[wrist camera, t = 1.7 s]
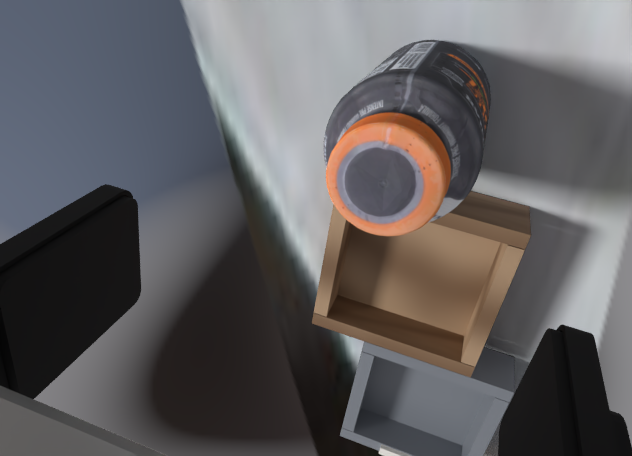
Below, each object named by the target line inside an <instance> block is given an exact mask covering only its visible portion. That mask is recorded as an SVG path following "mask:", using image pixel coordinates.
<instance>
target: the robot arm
mask: <svg viewBox="0 0 632 456" xmlns="http://www.w3.org/2000/svg"><path fill="white" fill-rule="evenodd" d="M138 228H139V227H138V205H137V202H136V200H135V199H133V196H132V194H131V193H130V192H129V191H127V190H124V189H121V188H118V187H114V186H111V185H106V184H105V185H103V186H100V187H99V188H97V189H95V190H94V191H92V192H90V193H88V194H87V195H85V196H83V197H82V198H80V199H78V200H76V201H74V202H73V203H71V204H69V205H68V206H66V207H64V208H62V209H61V210H59V211H57V212H55V213H54V214H52V215H50V216H49V217H47V218H45V219H43V220H42V221H40V222H38V223H36V224H35V225H33V226H31V227H30V228H28V229H26V230H24V231H23V232H21V233H19V234H17V235H16V236H14V237H12V238H10V239H9V240H7V241H5V242H4V243H2V244H0V456H167V455H165V454H162V453H160V452H157V451H155V450H153V449H150V448H148V447H146V446H143V445H141V444H139V443H136V442H134V441H132V440H129V439H127V438H124V437H122V436H120V435H117V434H115V433H113V432H110V431H108V430H105V429H103V428H101V427H98V426H96V425H93V424H91V423H89V422H86V421H84V420H82V419H79V418H77V417H74V416H72V415H69V414H67V413H65V412H62V411H59V410H57V409H55V408H53V407H50V406H48V405H45V404H43V403H40V402H38V401H36V400H33V399H34V398H35V397H36V396H37V395H39V394H40V393H41V392H42V391H43V390H44V389H45V388H46V387H47V386H48V385H49V384H50V383H51V382H52V381H53V380H55V378H57V377H58V376H59V375H60V374H61V373H62V372H63V371H64V370H65V369H66V368H67V367H68V366H69V365H70V364H72V363H73V362H74V361H75V360H76V359H77V358H78V357H79V356H80V355H81V354H82V353H83V352H84V351H85V350H86V349H88V347H90V346H91V345H92V344H93V343H94V342H95V341H96V340H97V339H98V338H99V337H100V336H101V335H102V334H103V333H105V332H106V331H107V330H108V329H109V328H110V327H111V326H112V325H113V324H114V323H115V322H116V321H117V320H118V319H119V318H120V317H122V316H123V315H124V314H125V313H126V312H127V311H128V310H129V309H130V308H131V307H132V306H133V305H134V304H135V303H136V302H137V300H138V298H139V296H140V292H141V278H140V253H139V229H138ZM498 456H632V447H631V443H630V439H629V435H628V430H627V426H626V423H625V420H624V418H623V417H622V416H621V415H620V414H619V413H616V412H612V411H610V410H609V406H608V401H607V396H606V391H605V386H604V382H603V377H602V372H601V367H600V363H599V358H598V353H597V348H596V343H595V339H594V336H593V335H592V334H591V333H588V332H585V331H581V330H578V329H575V328H572V327H568V326H565V325H560V326H559V327H558V329H557V330H553V329H550V328H549V329H547V330H546V332H545V334H544V336H543V338H542V340H541V342H540V344H539V346H538V348H537V350H536V352H535V354H534V356H533V358H532V360H531V362H530V364H529V366H528V368H527V370H526V372H525V374H524V376H523V378H522V380H521V382H520V384H519V386H518V388H517V390H516V392H515V394H514V396H513V398H512V400H511V402H510V404H509V406H508V408H507V410H506V412H505V414H504V416H503V419H502V422H501V425H500V430H499V449H498Z"/></svg>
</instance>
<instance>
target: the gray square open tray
mask: <svg viewBox="0 0 632 456" xmlns="http://www.w3.org/2000/svg"><path fill="white" fill-rule="evenodd" d="M513 394H514V357H512V356H509V355H506V354H503V353H499V352H496V351H493V350H490V349H487V348H484V347H483V350H482V352H481V354H480V357H479V359H478V361H477V364H476V366H475V368H474V371H473V373H472V376H471V378H470V377H467V376H465V375H462V374H459V373H456V372H453V371H450V370H447V369H444V368H441V367H438V366H435V365H432V364H429V363H427V362H424V361H421V360H418V359H415V358H412V357H409V356H406V355H403V354H400V353H397V352H394V351H391V350H388V349H386V348H383V347H380V346H377V345H374V344H371V343H368V342H365V341H364V345H363V348H362V352H361V356H360V360H359V364H358V368H357V372H356V375H355V379H354V383H353V387H352V391H351V395H350V399H349V402H348V406H347V410H346V414H345V418H344V422H343V426H342V429H341V433H340V436H342V437H345V438H347V439H350V440H352V441H355V442H358V443H360V444H363V445H365V446H368V447H371V448H373V449H376V450H378V451H379V454H381V455H384V456H483V455H484V453H485V451H486V449H487V447H488V445H489V443H490V441H491V439H492V437H493V435H494V433H495V431H496V429H497V427H498V425H499V423H500V421H501V419H502V417H503V415H504V413H505V411H506V408H507V406H508V404H509V402H510V400H511V398H512V396H513Z"/></svg>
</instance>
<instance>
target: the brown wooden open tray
mask: <svg viewBox="0 0 632 456" xmlns="http://www.w3.org/2000/svg"><path fill="white" fill-rule="evenodd" d="M530 237H531V226H530V210H529V207H528V206H525V205H521V204H517V203H513V202H510V201H506V200H502V199H498V198H495V197H491V196H487V195H483V194H480V193H476V192H472V191H470V193H469V194H468V195H467V197H466V198H465V199H464V200H463V201H462V202H461V203H460V204H459V205H458V206H457V207H456V208H454V209H453V210H452V211H450V212H449V213H447V214H446V215H444V216H442V217H441V218H439V219H436V220H434V221H431V222H428V223H426V224H425V225H424V226H423V227H421V228H420V229H418V230H416V231H413V232H411V233H407V234H404V235H400V236H379V235H374V234H371V233H368V232H365V231H363V230H361V229H359V228H357V227H356V226H354V225H353V224H351V223H350V222H349V221H347V220H346V219H345V218H344V217H343V216H342V215H341V214H340V212H339V211H338V210H337V208H336V207H335V205H333V210H332V216H331V221H330V227H329V232H328V238H327V243H326V249H325V254H324V260H323V265H322V270H321V276H320V281H319V287H318V292H317V298H316V303H315V309H314V314H313V320H312V324H315V325H318V326H321V327H324V328H327V329H330V330H333V331H336V332H339V333H342V334H345V335H348V336H350V337H353V338H356V339H359V340H362V341H365V342H368V343H371V344H374V345H377V346H380V347H383V348H386V349H388V350H391V351H394V352H397V353H400V354H403V355H406V356H409V357H412V358H415V359H418V360H421V361H424V362H427V363H429V364H432V365H435V366H438V367H441V368H444V369H447V370H450V371H453V372H456V373H459V374H462V375H465V376H467V377H470V378H471V376H472V373H473V371H474V368H475V366H476V364H477V361H478V359H479V357H480V354H481V352H482V350H483V347H484V345H485V343H486V340H487V338H488V336H489V333H490V331H491V328H492V326H493V324H494V321H495V319H496V317H497V314H498V312H499V310H500V307H501V305H502V303H503V300H504V298H505V295H506V293H507V291H508V288H509V286H510V284H511V281H512V279H513V277H514V274H515V272H516V270H517V267H518V265H519V263H520V260H521V258H522V255H523V253H524V251H525V248H526V246H527V244H528V241H529V239H530Z"/></svg>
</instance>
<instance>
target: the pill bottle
mask: <svg viewBox="0 0 632 456" xmlns="http://www.w3.org/2000/svg"><path fill="white" fill-rule="evenodd" d="M489 110H490V86H489V82H488V79H487V77H486V74H485V72H484V70H483V69H482V67H481V66H480V64H479V63H478V62H477V60H476V59H475V58H473V57H472V56H471V55H470V54H469V53H467V52H466V51H465V50H464V49H462V48H460V47H458V46H456V45H454V44H451V43H448V42H444V41H437V40H423V41H419V42H414V43H411V44H408V45H406V46H404V47H402V48H400V49H399V50H397V51H396V52H394V53H393V54H392V55H391V56H390V57H388V58H387V59H386V60H385V61H384V62H383V63H381V64H380V65H379V66H378V67H376V68H375V69H374V70H373V71H372V72H371V73H369V74H368V75H367V76H366V77H365V78H363V79H362V80H361V81H360V82H359V83H358V84H357V85H356V86H354V87H353V88H352V89H351V90H350V91H349V92H348V93H347V94H346V95H345V96H344V97H343V98H342V99H341V100H340V101H339V103H338V104H337V106H336V107H335V109H334V110H333V113H332V115H331V117H330V119H329V122H328V124H327V128H326V132H325V137H324V159H325V164H326V168H327V170H326V182H327V188H328V191H329V195H330V197H331V200H332V202H333V204H334V205H335V207H336V208H337V210H338V211H339V212H340V214H341V215H342V216H343V217H344V218H345V219H346V220H347V221H349V222H350V223H351V224H353V225H354V226H356V227H357V228H359V229H361V230H363V231H365V232H368V233H371V234H374V235H379V236H400V235H404V234H407V233H411V232H413V231H416V230H418V229H420V228H421V227H423V226H424V225H425V224H426V223H428V222H431V221H434V220H436V219H439V218H441V217H442V216H444V215H446V214H447V213H449V212H450V211H452V210H453V209H454V208H456V207H457V206H458V205H459V204H460V203H461V202H462V201H463V200H464V199H465V198H466V197H467V195H468V194H469V193H470V191H471V189H472V187H473V185H474V183H475V182H476V180H477V177H478V174H479V172H480V168H481V163H482V157H483V150H484V142H485V137H486V130H487V124H488V117H489Z"/></svg>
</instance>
